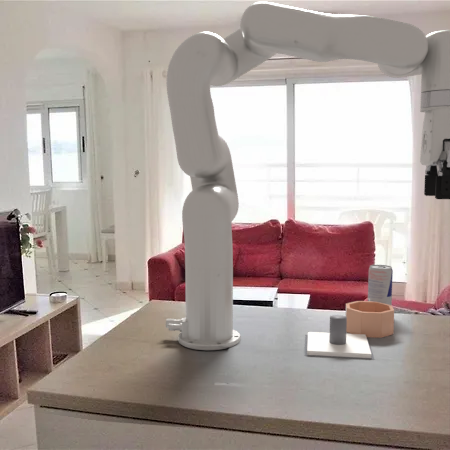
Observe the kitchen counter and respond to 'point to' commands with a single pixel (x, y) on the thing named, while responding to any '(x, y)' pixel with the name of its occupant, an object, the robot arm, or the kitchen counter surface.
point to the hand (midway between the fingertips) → (438, 197)
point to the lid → (338, 341)
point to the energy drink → (380, 284)
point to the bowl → (370, 318)
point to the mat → (335, 356)
